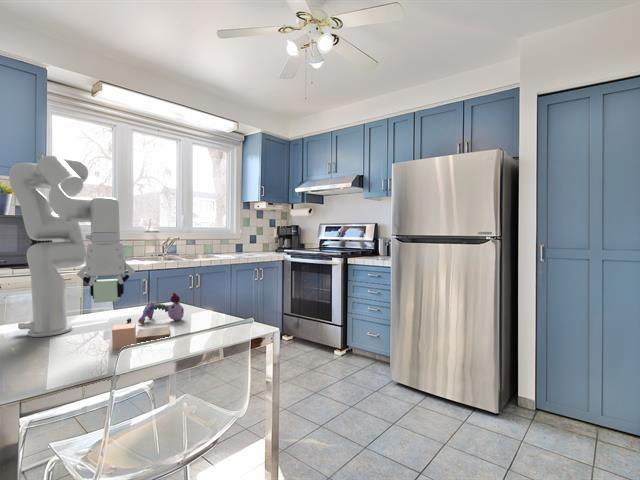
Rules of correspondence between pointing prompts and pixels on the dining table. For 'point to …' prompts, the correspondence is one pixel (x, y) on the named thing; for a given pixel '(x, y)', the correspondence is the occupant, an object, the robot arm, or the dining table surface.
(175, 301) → the toy
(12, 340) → the dining table surface
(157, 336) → the board
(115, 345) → the terracotta cube
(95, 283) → the sage cube
